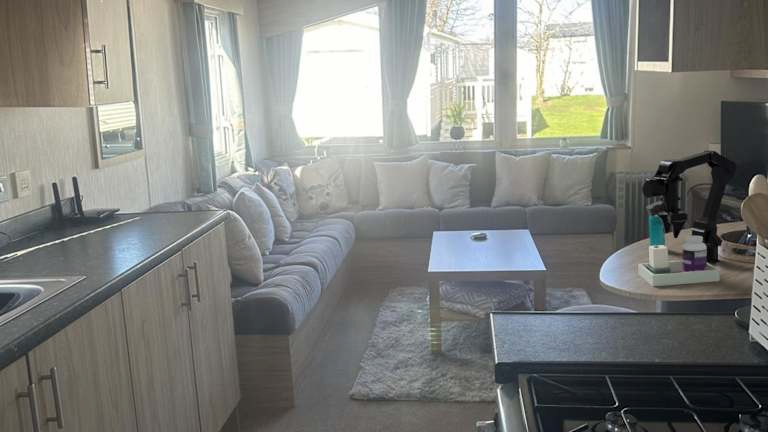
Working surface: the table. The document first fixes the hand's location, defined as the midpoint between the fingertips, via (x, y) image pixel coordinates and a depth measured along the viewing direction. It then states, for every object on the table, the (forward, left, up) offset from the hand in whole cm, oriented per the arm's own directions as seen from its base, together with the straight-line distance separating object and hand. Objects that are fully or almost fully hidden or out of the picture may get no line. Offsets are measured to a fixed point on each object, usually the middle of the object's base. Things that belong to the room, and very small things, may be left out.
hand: (671, 235), depth 281 cm
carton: (+9, +13, -8) cm, 18 cm away
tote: (+2, +13, -12) cm, 18 cm away
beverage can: (-4, -28, -13) cm, 31 cm away
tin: (+9, +13, -13) cm, 20 cm away
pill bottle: (-4, +13, -13) cm, 19 cm away
